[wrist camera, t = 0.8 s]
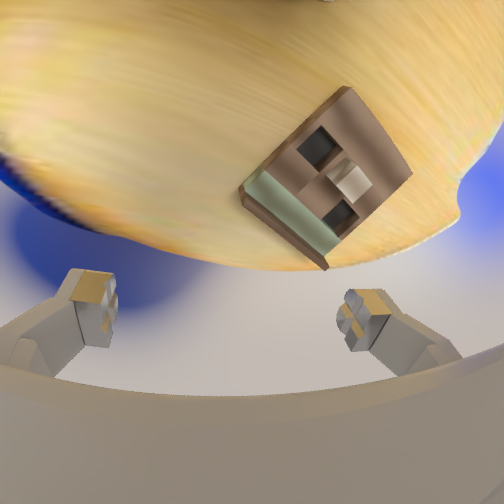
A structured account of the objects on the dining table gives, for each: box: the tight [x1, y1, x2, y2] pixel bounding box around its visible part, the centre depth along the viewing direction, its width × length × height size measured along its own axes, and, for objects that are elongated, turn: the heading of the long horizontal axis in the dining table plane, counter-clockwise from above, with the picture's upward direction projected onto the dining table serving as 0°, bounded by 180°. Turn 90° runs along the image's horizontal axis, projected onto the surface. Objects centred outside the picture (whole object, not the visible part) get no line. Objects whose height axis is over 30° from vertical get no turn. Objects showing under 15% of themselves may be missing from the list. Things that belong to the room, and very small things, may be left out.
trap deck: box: [239, 86, 413, 271], centre depth 40 cm, size 22×18×6 cm
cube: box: [326, 157, 373, 204], centre depth 38 cm, size 4×4×4 cm
